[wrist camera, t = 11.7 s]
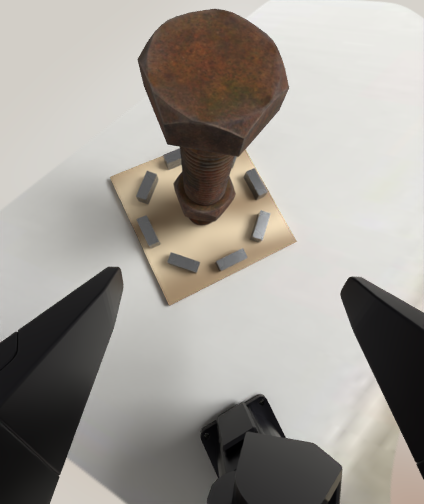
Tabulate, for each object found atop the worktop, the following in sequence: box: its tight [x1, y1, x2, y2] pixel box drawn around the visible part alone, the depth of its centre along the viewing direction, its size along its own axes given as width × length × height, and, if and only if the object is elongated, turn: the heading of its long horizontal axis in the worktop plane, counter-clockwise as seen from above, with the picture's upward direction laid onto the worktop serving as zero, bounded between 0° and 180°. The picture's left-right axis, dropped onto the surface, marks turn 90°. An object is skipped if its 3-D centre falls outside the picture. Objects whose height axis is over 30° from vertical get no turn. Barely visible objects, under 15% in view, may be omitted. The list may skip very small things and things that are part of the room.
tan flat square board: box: [110, 150, 297, 306], centre depth 23 cm, size 14×14×1 cm
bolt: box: [138, 9, 289, 226], centre depth 16 cm, size 6×5×15 cm
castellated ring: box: [136, 149, 271, 274], centre depth 22 cm, size 13×13×1 cm
